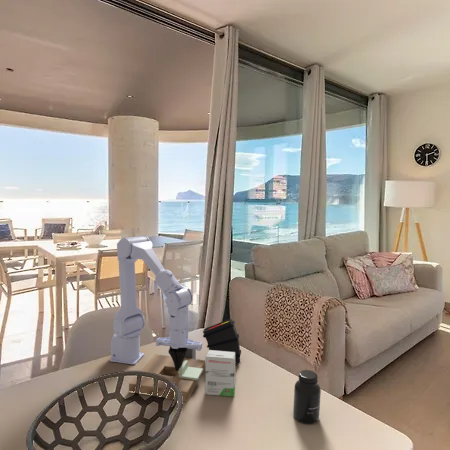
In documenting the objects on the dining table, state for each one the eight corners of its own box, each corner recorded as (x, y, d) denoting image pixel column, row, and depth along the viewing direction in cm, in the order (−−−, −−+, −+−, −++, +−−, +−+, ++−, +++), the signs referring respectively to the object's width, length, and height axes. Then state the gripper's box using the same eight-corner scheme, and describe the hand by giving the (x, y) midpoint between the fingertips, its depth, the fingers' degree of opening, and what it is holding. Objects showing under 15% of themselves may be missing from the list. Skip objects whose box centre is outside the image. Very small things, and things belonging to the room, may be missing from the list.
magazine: (248, 360, 121) (230, 321, 120) (214, 373, 123) (197, 334, 123) (249, 355, 124) (232, 317, 124) (216, 367, 127) (199, 330, 126)
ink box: (235, 388, 107) (236, 351, 105) (233, 397, 102) (234, 358, 101) (207, 385, 108) (208, 348, 107) (204, 394, 103) (205, 356, 102)
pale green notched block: (178, 377, 106) (178, 369, 106) (185, 368, 112) (185, 360, 112) (197, 380, 105) (197, 372, 105) (203, 370, 111) (203, 362, 110)
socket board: (128, 393, 103) (128, 383, 103) (155, 362, 121) (155, 354, 121) (187, 401, 99) (187, 391, 99) (205, 369, 118) (205, 360, 117)
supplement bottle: (314, 428, 89) (316, 384, 88) (289, 419, 93) (291, 376, 91) (322, 414, 95) (324, 372, 94) (298, 405, 98) (300, 365, 97)
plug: (181, 363, 121) (181, 344, 120) (184, 358, 125) (185, 339, 124) (192, 365, 120) (192, 345, 119) (195, 359, 124) (195, 340, 123)
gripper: (151, 329, 106) (151, 372, 107) (197, 335, 102) (197, 379, 104) (160, 321, 112) (160, 361, 114) (204, 326, 109) (203, 367, 111)
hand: (178, 369), depth 109 cm, fingers closed
